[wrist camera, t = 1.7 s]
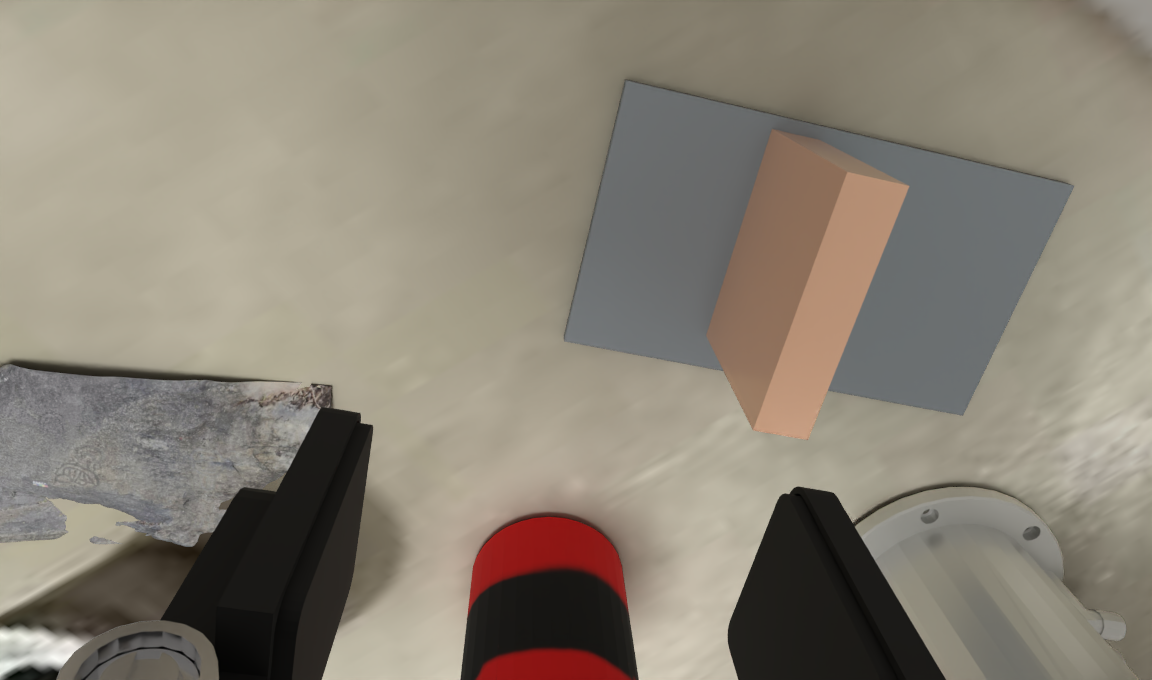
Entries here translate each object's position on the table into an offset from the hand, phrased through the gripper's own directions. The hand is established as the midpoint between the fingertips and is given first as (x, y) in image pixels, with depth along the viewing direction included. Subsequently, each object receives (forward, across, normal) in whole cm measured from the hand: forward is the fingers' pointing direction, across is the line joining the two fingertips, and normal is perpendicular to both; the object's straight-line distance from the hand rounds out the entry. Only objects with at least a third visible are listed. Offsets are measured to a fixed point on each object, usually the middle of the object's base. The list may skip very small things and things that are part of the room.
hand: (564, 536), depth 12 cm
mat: (+22, -12, 0) cm, 24 cm away
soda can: (+22, -4, +19) cm, 29 cm away
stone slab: (+22, +16, +16) cm, 32 cm away
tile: (+21, -9, 0) cm, 23 cm away
